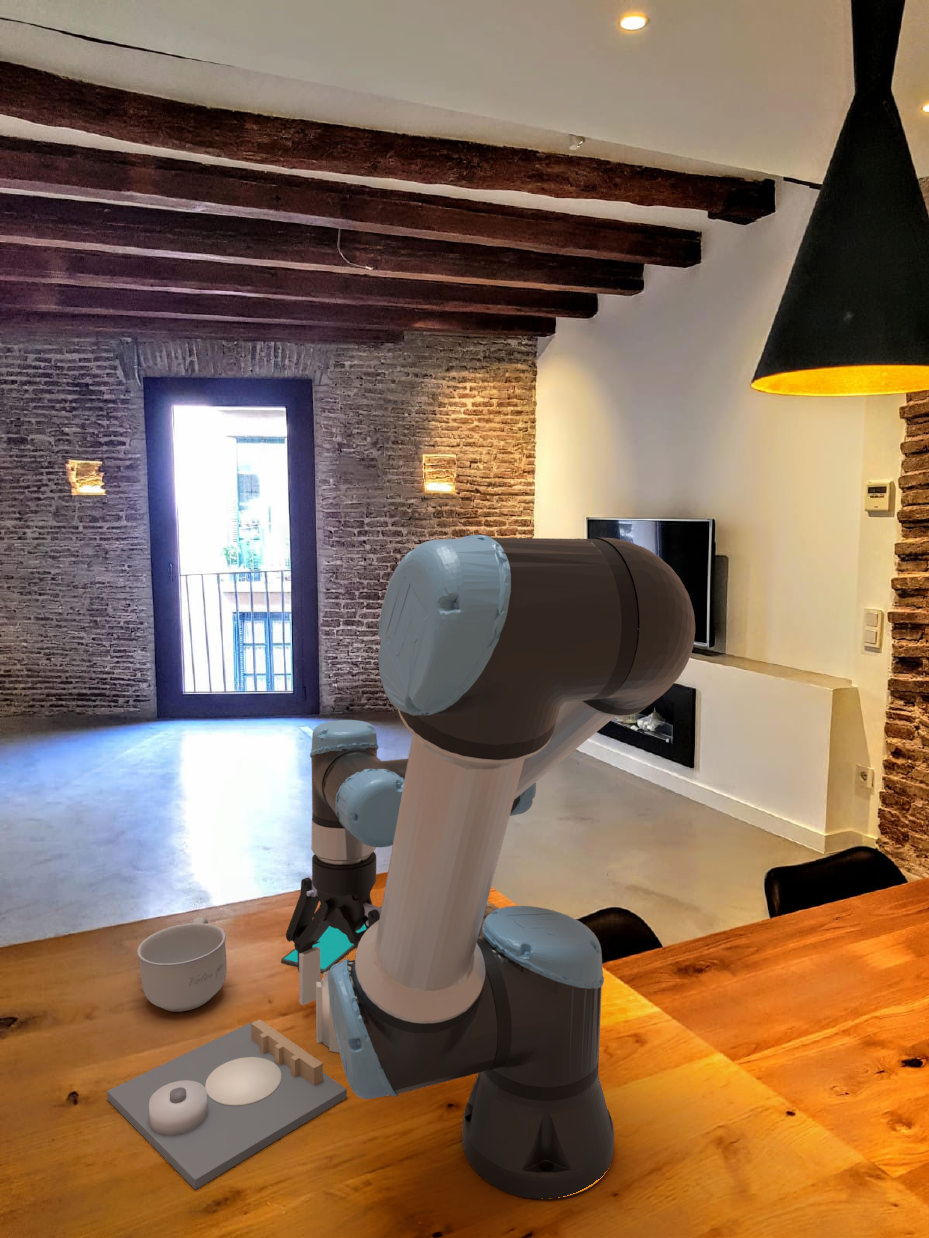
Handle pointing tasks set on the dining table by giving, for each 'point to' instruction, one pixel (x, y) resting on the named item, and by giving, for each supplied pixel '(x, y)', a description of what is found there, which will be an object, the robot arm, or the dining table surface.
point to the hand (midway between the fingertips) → (344, 1022)
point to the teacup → (183, 965)
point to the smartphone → (327, 949)
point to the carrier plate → (226, 1100)
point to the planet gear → (325, 1015)
